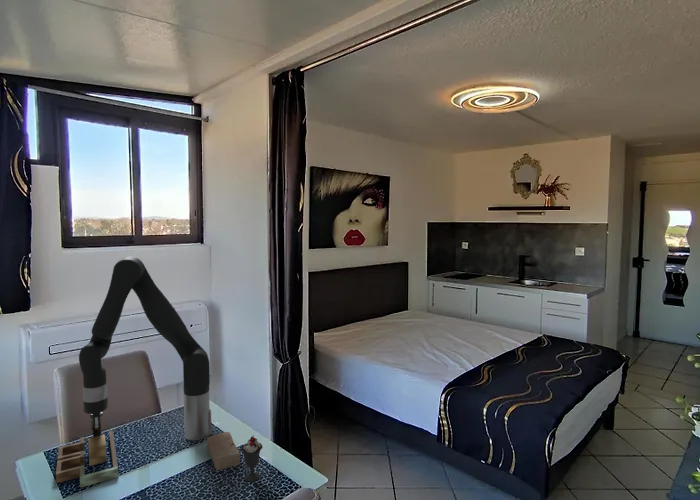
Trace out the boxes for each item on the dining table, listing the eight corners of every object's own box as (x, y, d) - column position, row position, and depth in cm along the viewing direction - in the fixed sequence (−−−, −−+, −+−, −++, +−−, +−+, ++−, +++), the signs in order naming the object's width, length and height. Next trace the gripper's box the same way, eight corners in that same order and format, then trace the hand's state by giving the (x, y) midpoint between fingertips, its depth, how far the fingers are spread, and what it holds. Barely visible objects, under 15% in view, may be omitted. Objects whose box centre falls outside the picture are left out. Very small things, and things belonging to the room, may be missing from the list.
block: (105, 450, 153) (104, 434, 153) (106, 461, 146) (105, 444, 146) (88, 454, 150) (88, 438, 150) (89, 466, 144) (88, 448, 143)
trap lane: (113, 437, 162) (112, 430, 162) (118, 477, 138) (118, 468, 137) (59, 450, 153) (59, 442, 153) (55, 494, 129) (54, 485, 129)
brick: (241, 465, 145) (240, 451, 145) (215, 472, 141) (215, 458, 141) (229, 442, 160) (229, 430, 160) (206, 448, 156) (205, 436, 155)
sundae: (252, 486, 134) (251, 440, 132) (237, 479, 137) (236, 434, 136) (267, 475, 139) (266, 431, 138) (252, 469, 143) (251, 425, 142)
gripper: (108, 401, 149) (110, 449, 150) (106, 388, 160) (108, 432, 162) (83, 406, 145) (85, 455, 146) (83, 392, 156) (84, 438, 158)
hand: (97, 443), depth 154 cm, fingers closed
